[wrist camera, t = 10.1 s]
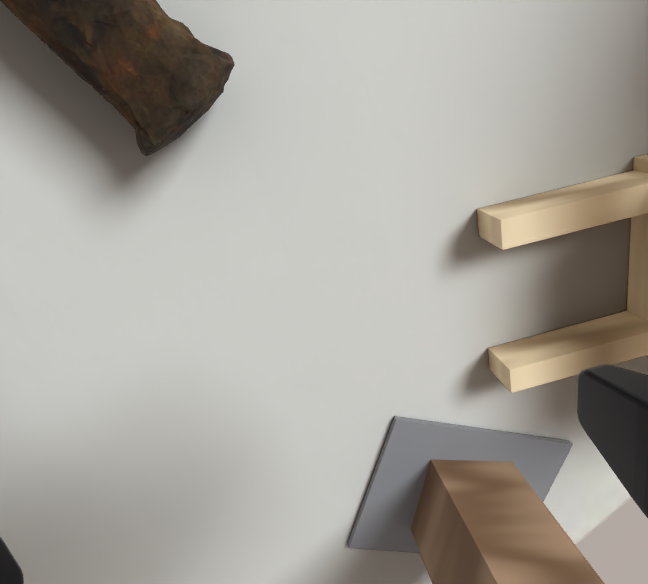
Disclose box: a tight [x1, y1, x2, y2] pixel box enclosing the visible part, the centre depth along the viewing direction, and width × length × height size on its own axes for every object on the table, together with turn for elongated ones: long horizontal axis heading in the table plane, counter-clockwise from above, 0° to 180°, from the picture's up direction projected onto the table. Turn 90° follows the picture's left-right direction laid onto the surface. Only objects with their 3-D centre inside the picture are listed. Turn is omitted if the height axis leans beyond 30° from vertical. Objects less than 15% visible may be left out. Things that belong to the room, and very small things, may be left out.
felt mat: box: [348, 416, 573, 553], centre depth 26 cm, size 10×8×1 cm
